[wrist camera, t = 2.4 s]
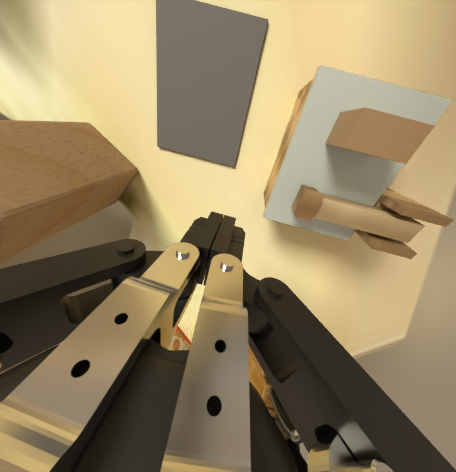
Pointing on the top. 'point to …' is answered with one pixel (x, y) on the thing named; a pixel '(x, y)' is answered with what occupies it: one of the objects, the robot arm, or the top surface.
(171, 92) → the mat
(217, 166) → the top surface
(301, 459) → the knife block
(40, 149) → the wooden block
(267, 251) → the top surface
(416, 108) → the lid
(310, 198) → the wooden peg
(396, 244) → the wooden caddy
